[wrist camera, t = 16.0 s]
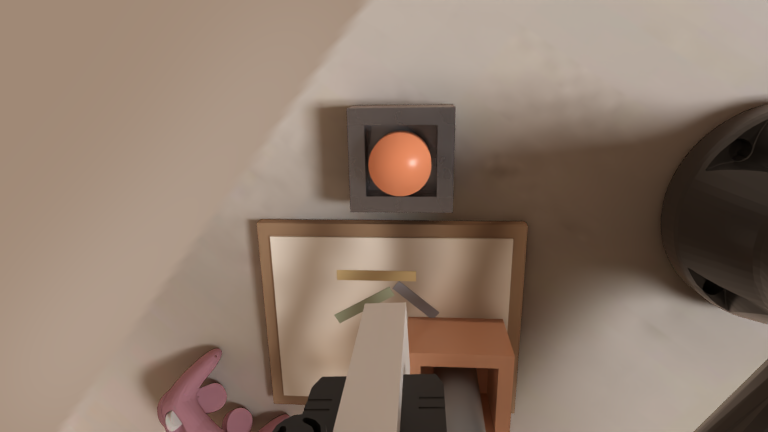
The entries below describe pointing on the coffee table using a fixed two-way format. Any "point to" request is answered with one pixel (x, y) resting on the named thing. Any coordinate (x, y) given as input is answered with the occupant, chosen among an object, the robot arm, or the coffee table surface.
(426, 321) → the pen cup
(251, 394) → the coffee table surface
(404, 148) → the button
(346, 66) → the coffee table surface
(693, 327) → the coffee table surface
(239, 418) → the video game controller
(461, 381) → the marker
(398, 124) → the button housing
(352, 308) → the board
